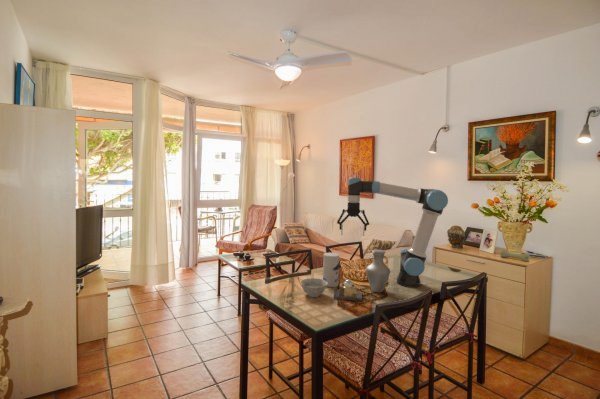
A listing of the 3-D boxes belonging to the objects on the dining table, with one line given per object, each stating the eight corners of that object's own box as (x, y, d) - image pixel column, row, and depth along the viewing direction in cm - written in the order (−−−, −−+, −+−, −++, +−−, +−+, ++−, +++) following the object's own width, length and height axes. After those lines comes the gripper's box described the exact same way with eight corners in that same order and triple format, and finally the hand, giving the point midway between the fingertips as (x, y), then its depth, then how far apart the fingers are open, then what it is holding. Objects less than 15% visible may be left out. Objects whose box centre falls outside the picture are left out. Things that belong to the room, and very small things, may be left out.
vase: (387, 296, 194) (389, 254, 192) (363, 292, 199) (365, 252, 197) (390, 288, 208) (391, 249, 206) (367, 285, 212) (368, 247, 211)
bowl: (306, 301, 183) (307, 288, 183) (295, 291, 198) (296, 279, 197) (331, 297, 190) (332, 285, 189) (319, 288, 204) (319, 276, 204)
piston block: (361, 293, 198) (361, 277, 197) (362, 300, 186) (362, 284, 185) (334, 291, 200) (334, 276, 199) (333, 298, 188) (334, 282, 187)
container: (337, 287, 206) (338, 256, 205) (321, 286, 208) (322, 255, 207) (338, 282, 216) (339, 252, 215) (323, 281, 218) (324, 251, 217)
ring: (356, 291, 197) (356, 282, 197) (356, 297, 187) (357, 288, 187) (339, 289, 199) (339, 281, 198) (339, 295, 189) (339, 287, 188)
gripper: (373, 202, 209) (372, 235, 211) (334, 200, 213) (333, 233, 214) (374, 203, 202) (373, 237, 203) (333, 201, 205) (332, 235, 207)
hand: (352, 235), depth 209 cm, fingers open, 13 cm apart
